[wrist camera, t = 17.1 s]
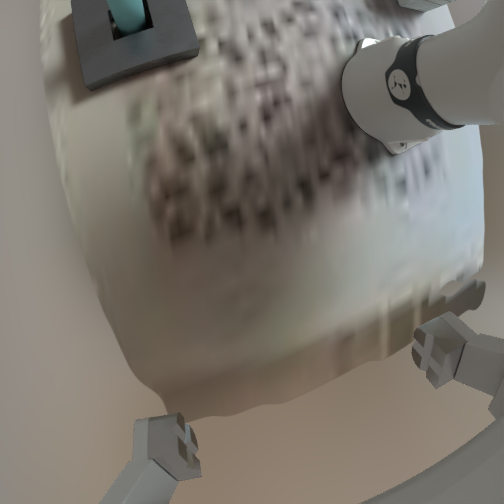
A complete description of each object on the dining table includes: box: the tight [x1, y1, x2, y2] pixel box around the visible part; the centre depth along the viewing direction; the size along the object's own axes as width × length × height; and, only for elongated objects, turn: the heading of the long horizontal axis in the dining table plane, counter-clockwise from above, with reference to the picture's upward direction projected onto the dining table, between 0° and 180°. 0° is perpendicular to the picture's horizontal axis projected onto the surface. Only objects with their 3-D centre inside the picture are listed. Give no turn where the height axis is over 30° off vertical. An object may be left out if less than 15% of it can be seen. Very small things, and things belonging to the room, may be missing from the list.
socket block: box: [71, 0, 200, 91], centre depth 28 cm, size 14×14×3 cm
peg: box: [107, 0, 147, 37], centre depth 23 cm, size 4×4×13 cm
